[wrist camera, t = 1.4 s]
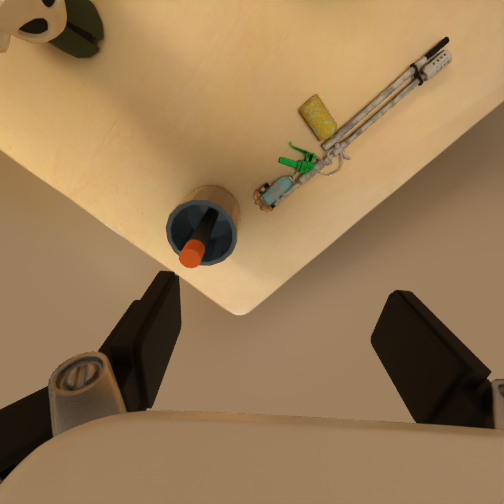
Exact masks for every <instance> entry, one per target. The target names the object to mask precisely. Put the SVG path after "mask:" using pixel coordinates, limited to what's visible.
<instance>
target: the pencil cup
mask: <svg viewBox="0 0 504 504" xmlns="http://www.w3.org/2000/svg"><path fill="white" fill-rule="evenodd" d="M208 209H214V210H216V211H217V213H218V218H217V221H216V223H215V226H214V228H213V230H212V233H211V235H210V238H209V240H208V243H207V245H206V247H205V252H204V255H203V257H202V260H201V262H200V264H199V265H209V266H210V265H214V264H216V263H219V262H222V261H224V260H225V259H226V258H227V257H228V256H229V255H230V254H232V252H233V250H234V247H235V245H236V243H237V238H238V231H239V224H240V208H239V205H238V202H237V200H236V199H235V197H234V196H233V195H232V194H231V193H230V192H229V191H227V190H226V189H224V188H221V187H219V186H213V185H207V186H202V187H200V188H198V189H196V190H194V191H193V192H192V193H191V194H190V195H189V196H188V197H187V198H185V199H184V200H183V201H182V202H181V203H180V204H179V205H178V206H177V207H176V209H175V210H174V211H173V212H172V213H171V214H170V215H169V218H168V222H167V225H166V232H167V239H168V242H169V244H170V245H171V247H172V249H173V250H174V252H175V253H176V254H178V255H180V253H181V251H182V250H183V248H184V246H185V245H186V243H187V242H188V241H189V240H190V238H191V236H192V235H193V233H194V231H195V230H196V228H197V226H198V224H199V223H200V221H201V219H202V218H203V216H204V214H205V213H206V211H207V210H208Z"/></svg>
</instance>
